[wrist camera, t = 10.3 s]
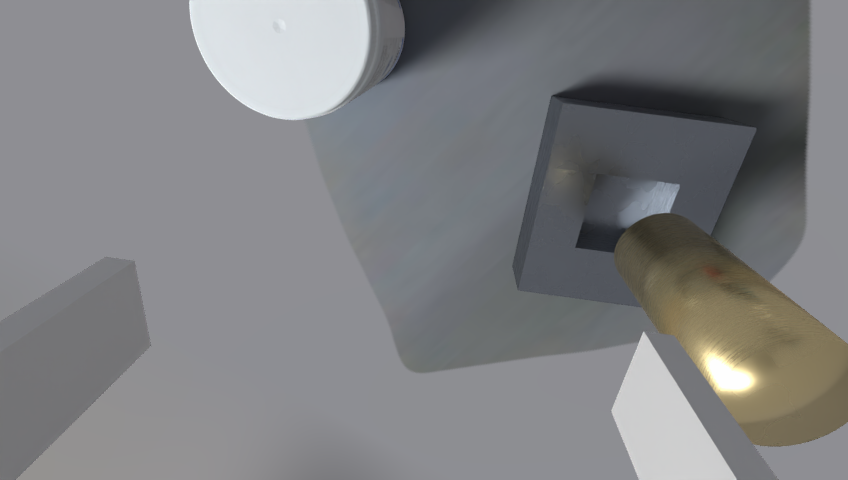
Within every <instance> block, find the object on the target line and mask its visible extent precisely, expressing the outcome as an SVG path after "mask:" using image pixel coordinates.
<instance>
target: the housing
mask: <svg viewBox="0 0 848 480" xmlns="http://www.w3.org/2000/svg"><path fill="white" fill-rule="evenodd" d="M756 130H757V128H756V127H753V126H749V125H746V124H743V123H739V122H736V121H732V120H729V119H726V118H721V117H714V116H706V115H698V114H690V113H682V112H674V111H666V110H659V109H651V108H643V107H635V106H627V105H619V104H612V103H604V102H596V101H588V100H580V99H572V98H565V97H557V96H551V100H550V104H549V108H548V113H547V117H546V121H545V126H544V130H543V135H542V139H541V143H540V148H539V152H538V157H537V161H536V165H535V170H534V174H533V178H532V183H531V187H530V192H529V196H528V200H527V205H526V209H525V213H524V218H523V222H522V227H521V231H520V235H519V240H518V244H517V249H516V253H515V257H514V262H513V271H514V275H515V279H516V284H517V288H518V290H519V291H527V292H534V293H541V294H548V295H556V296H563V297H570V298H577V299H585V300H592V301H599V302H607V303H614V304H621V305H628V306H636V307H641V305H640V304H639V302H638V301H637V299H636V298H635V296H634V295H633V293H632V292H631V290H630V289H629V287H628V286H627V285H626V283H625V282H624V280H623V279H622V277H621V276H620V274H619V273H618V271H617V269H616V266H615V262H614V252H615V248H616V245H617V242H618V240H619V239H620V237H621V236H622V234H623V233H624V232H625V231H626V230H627V229H628V228H629V227H630V226H631V225H632V224H634V223H635V222H637V221H638V220H640V219H642V218H645V217H647V216H650V215H654V214H659V213H673V214H678V215H681V216H684V217H686V218H688V219H689V220H691V221H692V222H693V223H695V224H696V225H697V226H698V227H700V228H701V229H702V230H703V231H705V232H706V233H707V234H709V235H710V236H711V233H712V231H713V229H714V227H715V224H716V222H717V220H718V217H719V215H720V213H721V210H722V208H723V206H724V204H725V201H726V199H727V197H728V194H729V192H730V190H731V188H732V185H733V183H734V181H735V178H736V176H737V174H738V171H739V169H740V167H741V165H742V162H743V160H744V158H745V155H746V153H747V151H748V149H749V146H750V144H751V142H752V139H753V137H754V135H755V132H756Z"/></svg>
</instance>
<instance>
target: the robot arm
mask: <svg viewBox="0 0 848 480" xmlns="http://www.w3.org/2000/svg"><path fill="white" fill-rule="evenodd" d="M150 346H151V342H150V337H149V332H148V327H147V322H146V317H145V312H144V307H143V301H142V296H141V291H140V286H139V281H138V277H137V271H136V265H135V261H132V260H125V259H118V258H111V257H105V258H103V259H101V260H100V261H98V262H96V263H95V264H93V265H92V266H90V267H88V268H87V269H85V270H83V271H82V272H80V273H78V274H77V275H75V276H74V277H72V278H70V279H69V280H67V281H65V282H64V283H62V284H60V285H59V286H57V287H56V288H54V289H52V290H51V291H49V292H47V293H46V294H44V295H42V296H41V297H40V298H38V299H36V300H34V301H33V302H31V303H29V304H28V305H26V306H25V307H23V308H21V309H20V310H18V311H16V312H15V313H13V314H12V315H10V316H8V317H7V318H5V319H3V320H2V321H0V480H16V479H17V478H18V477H19V476H20V475H21V474H22V473H23V472H24V471H25V470H26V469H27V468H28V467H29V466H30V465H31V464H32V463H33V462H34V461H35V460H36V459H37V458H38V457H39V456H40V455H41V454H42V453H43V452H44V451H45V450H46V449H47V448H48V447H49V446H50V445H51V444H52V443H53V442H54V441H55V440H56V439H57V438H58V437H59V436H60V435H61V434H62V433H63V432H64V431H65V430H66V429H67V428H68V427H69V426H70V425H71V424H72V423H73V422H74V421H75V420H76V419H77V418H79V416H80V415H82V413H83V412H85V410H87V409H88V408H89V407H90V406H91V405H92V404H93V403H94V402H95V401H96V399H98V398H99V397H100V396H101V395H102V394H103V393H104V392H105V391H106V390H107V389H108V388H109V387H110V386H111V385H112V384H113V383H114V382H115V381H116V380H117V379H118V378H119V377H120V376H121V375H122V374H123V373H124V372H125V371H126V370H127V369H128V368H129V367H130V366H131V365H132V364H133V363H134V362H135V361H136V360H137V359H138V358H139V357H140V356H141V355H142V354H143V353H144V352H145V351H146V350H147V349H148V348H149V347H150ZM611 412H612V414H613V417H614V419H615V421H616V424H617V426H618V429H619V431H620V434H621V436H622V439H623V441H624V444H625V446H626V449H627V451H628V453H629V456H630V458H631V461H632V463H633V466H634V468H635V471H636V473H637V476H638V478H639V480H778V479H777V477H776V476H775V475H774V473H773V471H772V470H771V469H770V467H769V466H768V464H767V463H766V462H765V460H764V459H763V458H762V456H761V455H760V453H759V452H758V451H757V449H756V448H755V446H754V445H753V444H752V442H751V441H750V440H749V438H748V437H747V435H746V434H745V433H744V431H743V430H742V429H741V427H740V426H739V424H738V423H737V422H736V420H735V419H734V417H733V416H732V415H731V413H730V412H729V411H728V409H727V408H726V406H725V405H724V404H723V402H722V401H721V399H720V398H719V397H718V395H717V394H716V393H715V391H714V390H713V388H712V387H711V386H710V384H709V383H708V381H707V380H706V379H705V377H704V376H703V375H702V373H701V372H700V370H699V369H698V368H697V366H696V365H695V363H694V362H693V361H692V359H691V358H690V357H689V355H688V354H687V352H686V351H685V350H684V348H683V347H682V345H681V344H680V343H679V341H678V340H677V339H676V337H675V336H674V335H668V334H660V333H653V332H646V331H644V332H643V334H642V337H641V339H640V342H639V344H638V347H637V349H636V351H635V354H634V356H633V359H632V362H631V364H630V366H629V369H628V371H627V374H626V376H625V379H624V381H623V384H622V386H621V389H620V391H619V393H618V396H617V398H616V401H615V403H614V406H613V408H612V411H611Z"/></svg>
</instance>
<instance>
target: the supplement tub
mask: <svg viewBox="0 0 848 480" xmlns="http://www.w3.org/2000/svg"><path fill="white" fill-rule="evenodd" d="M189 6H190V17H191V23H192V28H193V33H194V36H195V39H196V43H197V45H198V48H199V50H200V52H201V54H202V56H203V59H204V61H205V62H206V64H207V66H208V67H209V69H210V70H211V72H212V73H213V75H214V76H215V78H216V79H217V80H218V81H219V82H220V84H221V85H222V86H223V87H224V88H225V89H226V90H227V91H228V92H229V93H230V94H231V95H232V96H234V97H235V98H236V99H237V100H239V101H240V102H241V103H243V104H244V105H246V106H248V107H249V108H251V109H253V110H255V111H257V112H259V113H262V114H264V115H267V116H270V117H274V118H279V119H287V120H301V119H309V118H314V117H319V116H322V115H326V114H329V113H331V112H333V111H335V110H337V109H339V108H341V107H342V106H344V105H346V104H347V103H349V102H350V101H352V100H354V99H355V98H356V97H358V96H360V95H361V94H363V93H364V92H366V91H367V90H369V89H370V88H372V87H373V86H375V85H376V84H378V83H379V82H380V81H382V80H383V79H384V78H385V77H387V76H388V75H389V73H390V72H391V71H392V69H393V68H394V66H395V65H396V63H397V61H398V59H399V57H400V55H401V52H402V48H403V44H404V38H405V21H404V15H403V11H402V7H401V4H400V1H399V0H190V1H189Z"/></svg>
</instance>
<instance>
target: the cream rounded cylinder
mask: <svg viewBox="0 0 848 480" xmlns="http://www.w3.org/2000/svg"><path fill="white" fill-rule="evenodd" d="M614 262H615V266H616V269H617V271H618V273H619V274H620V276H621V277H622V279H623V280H624V282H625V283H626V285H627V286H628V287H629V289H630V290H631V292H632V293H633V295H634V296H635V298H636V299H637V301H638V302H639V304H640V305H641V307H642V308H643V310H644V311H645V313H646V314H647V316H648V317H649V318H650V320H651V321H652V323H653V324H654V326H655V327H656V329H657V330H658V332H659V333H660V334H668V335H674V336H675V337H676V339H677V340H678V341H679V343H680V344H681V345H682V347H683V348H684V350H685V351H686V352H687V354H688V355H689V357H690V358H691V359H692V361H693V362H694V363H695V365H696V366H697V368H698V369H699V370H700V372H701V373H702V375H703V376H704V377H705V379H706V380H707V381H708V383H709V384H710V386H711V387H712V388H713V390H714V391H715V393H716V394H717V395H718V397H719V398H720V399H721V401H722V402H723V404H724V405H725V406H726V408H727V409H728V411H729V412H730V413H731V415H732V416H733V417H734V419H735V420H736V422H737V423H738V424H739V426H740V427H741V429H742V430H743V431H744V433H745V434H746V435H747V437H748V438H749V440H750V441H751V442H752V444H755V445H760V446H789V445H796V444H801V443H804V442H809V441H812V440H815V439H818V438H820V437H822V436H825V435H827V434H829V433H831V432H833V431H835V430H837V429H838V428H840V427H841V426H843V425H844V424H846V423H847V422H848V344H847V343H846V342H845V341H843V340H842V339H841V338H840V337H838V336H837V335H836V334H834V333H833V332H832V331H831V330H829V329H828V328H827V327H826V326H824V325H823V324H822V323H820V322H819V321H818V320H817V319H815V318H814V317H813V316H812V315H810V314H809V313H808V312H807V311H805V310H804V309H802V308H801V307H800V306H799V305H798V304H796V303H795V302H794V301H793V300H791V299H790V298H788V297H787V296H786V295H785V294H784V293H782V292H781V291H780V290H778V289H777V288H776V287H775V286H773V285H772V284H771V283H770V282H768V281H767V280H766V279H765V278H763V277H762V276H761V275H759V274H758V273H757V272H756V271H754V270H753V269H752V268H751V267H749V266H748V265H747V264H745V263H744V262H743V261H742V260H740V259H739V258H738V257H737V256H735V255H734V254H733V253H731V252H730V251H729V250H728V249H726V248H725V247H724V246H723V245H721V244H720V243H719V242H717V241H716V240H715V239H714V238H712V237H711V236H710V235H709V234H707V233H706V232H705V231H703V230H702V229H701V228H700V227H698V226H697V225H696V224H695V223H693V222H692V221H691V220H689V219H688V218H686V217H684V216H681V215H678V214H673V213H659V214H654V215H650V216H647V217H645V218H642V219H640V220H638V221H637V222H635V223H634V224H632V225H631V226H630V227H629V228H628V229H627V230H626V231H625V232H624V233H623V234H622V236H621V237H620V239H619V240H618V242H617V245H616V248H615V252H614Z"/></svg>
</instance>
